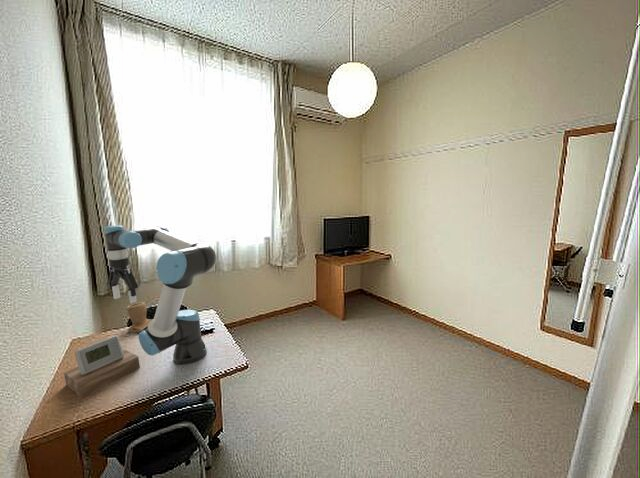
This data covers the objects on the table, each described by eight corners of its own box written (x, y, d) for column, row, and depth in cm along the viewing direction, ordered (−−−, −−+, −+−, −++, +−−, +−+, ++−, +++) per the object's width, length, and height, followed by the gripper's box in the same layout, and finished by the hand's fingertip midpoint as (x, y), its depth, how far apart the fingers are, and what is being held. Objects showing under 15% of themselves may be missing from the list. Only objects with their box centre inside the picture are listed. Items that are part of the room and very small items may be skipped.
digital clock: (79, 378, 116) (75, 354, 114) (77, 368, 122) (73, 346, 120) (126, 360, 127) (122, 339, 125) (121, 353, 133) (118, 332, 131)
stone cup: (136, 322, 179) (133, 300, 176) (156, 321, 179) (153, 299, 176) (121, 334, 164) (117, 310, 161) (142, 333, 164) (138, 309, 162)
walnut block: (139, 368, 131) (138, 356, 130) (82, 398, 112) (80, 384, 111) (122, 358, 139) (120, 347, 138) (66, 385, 120) (63, 372, 119)
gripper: (142, 258, 131) (148, 301, 135) (112, 254, 142) (118, 294, 146) (125, 262, 124) (132, 307, 128) (95, 257, 135) (102, 299, 139)
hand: (125, 300), depth 137 cm, fingers open, 13 cm apart
